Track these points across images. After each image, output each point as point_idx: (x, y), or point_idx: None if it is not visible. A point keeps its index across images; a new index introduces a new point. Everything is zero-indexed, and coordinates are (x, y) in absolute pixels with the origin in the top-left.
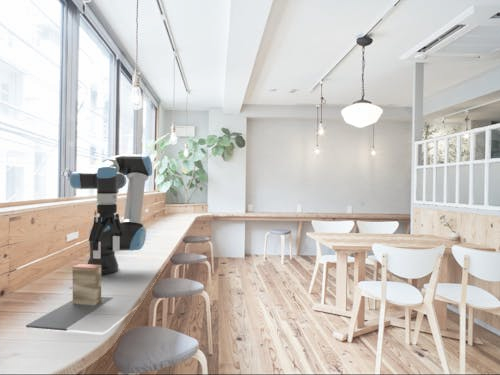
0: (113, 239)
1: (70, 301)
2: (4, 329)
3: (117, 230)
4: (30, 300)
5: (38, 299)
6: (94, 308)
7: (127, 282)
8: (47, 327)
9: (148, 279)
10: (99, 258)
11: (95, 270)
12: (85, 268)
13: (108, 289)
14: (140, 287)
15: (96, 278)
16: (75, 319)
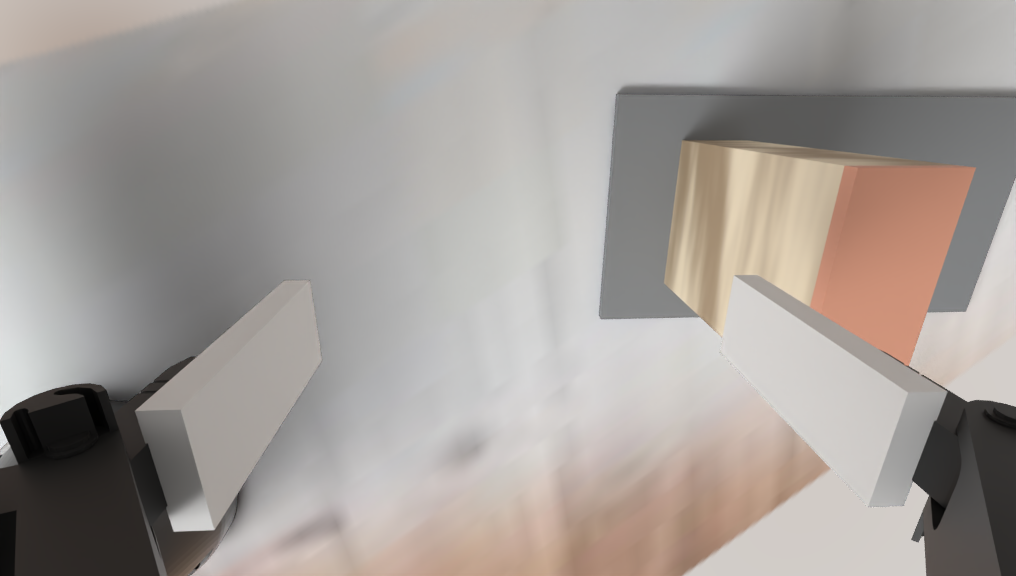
0: (246, 464)
1: (692, 314)
2: (962, 373)
3: (98, 555)
4: (661, 502)
5: (647, 481)
6: (796, 109)
7: (285, 184)
8: (1004, 203)
9: (154, 42)
10: (755, 276)
11: (931, 162)
12: (929, 270)
13: (452, 235)
14: (357, 12)
15: (847, 155)
16: (939, 122)
